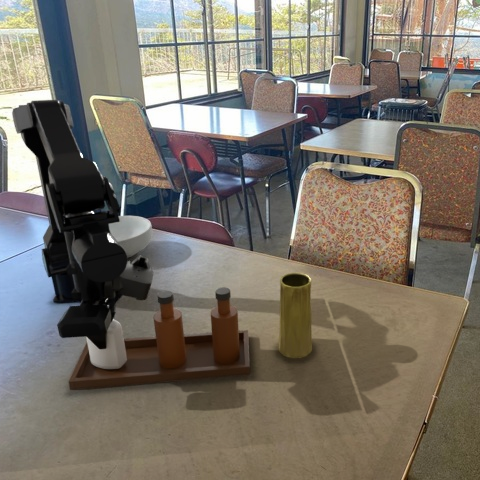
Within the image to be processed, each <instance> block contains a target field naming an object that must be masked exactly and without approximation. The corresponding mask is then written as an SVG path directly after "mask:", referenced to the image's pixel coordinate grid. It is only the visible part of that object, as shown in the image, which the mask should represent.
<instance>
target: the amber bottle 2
mask: <svg viewBox="0 0 480 480" xmlns="http://www.w3.org/2000/svg"><path fill="white" fill-rule="evenodd" d="M214 293H215V299H216V304H217V306H215V307H213V308H212V309H211V310H210V324H211V325H210V326H211V333H212V339H213V353H214V360H215V361H216V362H218V363H220V364H230V363H233V362H235V361H237V360H238V358H239V357H240V349H239V331H240V330H239V311H238V308H237V307H236V306H234V305H232V304H231V301H230V300H231V297H232V296H231V295H232V294H231V289H230V288H229V287H226V286H225V287H224V286H223V287H218V288H216V289H215V291H214Z"/></svg>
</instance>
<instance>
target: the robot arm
mask: <svg viewBox="0 0 480 480" xmlns="http://www.w3.org/2000/svg"><path fill="white" fill-rule="evenodd" d="M11 114H12V120H13V124H14V128H15V132H16V134H20V136H21V137H20V138H21V139H22V141H23V144H24V145H25V146H26V148H28V150H29V151H30V152H31V153H32V154H33V155H34V156H35V161H36V165H37V170H38V174H39V180H40V185H41V191H42V194H43V199H44V205H45V209H46V213H47V220H48V226H47V229H46V231H45V232H44V234H43V235H42V240H43V246H44V248H41V260H42V264H43V267H44V268H43V269H44V271H45V273H46V275H47V278H49V279H50V278H51V281H52V286H53V290H54V295H55V296H54V298H53V299H52V302H53V303H55V304H57V303H70V302H71V303H73V302H80V304H79V305H69V307H68V308H67V309H66V310H64V312H63V314H62V316H61V318H60V319H59V321H58V323H57V324H56V327H57V330H58V335H59V337H60V338H62V339H69V338H84V337H85V338H86V337H87V338H88V339H89V340H90V341H91V342H92V343H93V344H94V345H95V346H96V347H97V348H98V349H106V348H107V331H108V328H109V326H110V323H111V322H112V321H113V319H115V317H116V309H117V308H116V307H117V303H118V302H119V300H120V299H121V298H122V297H123V296H125V297H129V298H132V299H133V298H134V299H135V300H137V301H146V300H147V299H148V297H149V293H150V291H151V287H152V283H153V280H154V276H155V271H154V267H151V264H150V260H149V257H148V256H144V255H138V256H137V257H136V258H135V259H134V260H133V261H132V262H131V261H128V258H127V254H126V252H125V251H124V249H123V248H122V247H121V245H120V244H119V243H118V242H117V240H116V239H115V238H114V237H113V235H112V234H111V232H110V230H109V224H111V223H116V222H120V220H119V216H120V215H119V214H120V213H121V206H120V204H119V201H118V199H117V196H116V193H115V189H114V188H113V187H114V186H113V184H112V183H111V182H110V181H109V179H108V177H106V175H105V176H103V174H102V173H101V171H100V169H99V167H98V165H97V164H96V162H95V161H92V160H90V159H89V158H87V157H84V156H83V154H82V152H81V150H80V147H79V145H78V143H77V140H76V138H75V136H74V134H73V131H72V129H73V128H74V126H75V125H74V122H73V117H72V113H71V108H70V105H68V104H66V103H64V101H63V100H58V99H40V100H37V99H36V100H31V101H30V102H27V103H26V104H19V105H18V107H14V108H13V109H12V112H11ZM106 206H107V210H103V209H105V208H106ZM98 210H101V211H98ZM102 210H103V211H102ZM94 211H97V212H94Z"/></svg>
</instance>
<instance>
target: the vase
mask: <svg viewBox="0 0 480 480" xmlns="http://www.w3.org/2000/svg"><path fill="white" fill-rule="evenodd" d="M279 284H280V285H279V286H280V291H279V294H280V295H279V331H278V351H279V353H280V354H281V355H282V356H284V357H287V358H290V359H301V358H304V357H307V356H308V355H309V354H311V352H312V351H313V343H312V336H313V335H312V302H311V301H312V300H311V297H312V296H311V290H312V278H311V276H309V275H307V274H305V273H302V272H290V273H286V274H284V275H282V276H281V278H280V279H279Z"/></svg>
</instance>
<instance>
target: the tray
mask: <svg viewBox="0 0 480 480" xmlns="http://www.w3.org/2000/svg"><path fill="white" fill-rule="evenodd" d="M184 341H185V350H186V361H185V363H184V364H183V365H181V366H179V367H177V368H172V369H168V368H164V367H162V366H161V365H160V364H159V357H158V349H157V341H156V335H155V336H143V337H129V338H128V337H127V338H124V344H125V350H126V357H127V361H126V362H125V364H124V365H123V366H122V367H121V368H118V369H102V368H99V367H96V366H94V365H93V364H92V363H91V360H90V355H89V350H88V344H87V342H86V343H85V345H84V347H83V350H82V352H81V354H80V356H79V358H78V360H77V362H76V364H75V367H74V368H73V371H72V373H71V374H70V377H69V379H68V386H69V390H70V391H71V390H82V389H84V390H85V389H94V388H95V389H96V388H105V387H106V388H107V387H119V386H129V385H141V384H155V383H166V382H178V381H190V380H202V379H211V378H212V379H213V378H225V377H236V376H237V377H238V376H247V375H251V366H250V365H251V364H250V363H251V361H250V344H249V343H250V342H249V330H248V329H245V330H244V329H240V330H239V349H240V357H239V358H238V360H237V361H235V362H233V363H230V364H220V363H218V362H216V361H215V360H214V353H213V339H212V332H199V333H184Z"/></svg>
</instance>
